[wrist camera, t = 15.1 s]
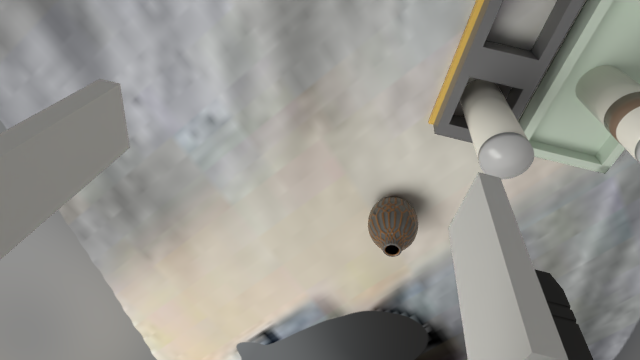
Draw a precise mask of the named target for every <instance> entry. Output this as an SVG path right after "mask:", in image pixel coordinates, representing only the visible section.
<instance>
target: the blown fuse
mask: <svg viewBox="0 0 640 360" xmlns="http://www.w3.org/2000/svg"><path fill="white" fill-rule="evenodd" d="M575 93H576V96H577V98H578V99H579V100H580V101H581V102H582V103H583V105H584V106H585V107H586V108H587V109H588V110H589V111H590V112H591V113H592V114H593V115H594V116H595V117H596V118H597V119H598V120H599V121H600V122H601V123H602V124H603V125H604V127H605V128H606V129H607V131H608V132H609V133H610V134H611V135H612V136H613V137H614V138H615V139H616V140H617V141H618V142H619V143H620V144H621V145H623V146H624V148H625V149H626V150H627V151H628V152H629V153H630V154H631V155H632V156H633V157H634V158H635V159H636V160H637V161H638V162H639V163H640V84H639V83H637V82H636V81H635V80H633V79H632V78H630V77H629V76H628V75H626V74H625V73H623V72H622V71H621V70H619V69H618V68H616V67H614V66H610V65H603V66H598V67H595V68H593V69H591V70H589V71H588V72H586V73H585V74H584V75H583V76H582V77H581V78H580V79H579V81H578V83H577V85H576V89H575Z"/></svg>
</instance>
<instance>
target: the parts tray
mask: <svg viewBox="0 0 640 360" xmlns="http://www.w3.org/2000/svg"><path fill="white" fill-rule="evenodd" d="M603 65H610V66H614V67H616V68H618V69H619V70H621V71H622V72H623V73H625V74H626V75H628V76H629V77H630V78H632V79H633V80H635V81H636V82H637V83H639V84H640V0H587V1H586V3H585V4H584V6H583V8H582V10H581V12H580V13H579V15H578V17H577V19H576V20H575V22H574V24H573V26H572V28H571V29H570V31H569V33H568V35H567V36H566V38H565V40H564V42H563V43H562V45H561V47H560V49H559V51H558V52H557V54H556V56H555V58H554V59H553V61H552V63H551V65H550V67H549V68H548V70H547V72H546V74H545V75H544V77H543V79H542V81H541V83H540V84H539V86H538V88H537V90H536V91H535V93H534V95H533V97H532V99H531V100H530V102H529V104H528V106H527V107H526V109H525V111H524V113H523V115H522V116H521V118H520V120H519V124H520V126H521V128H522V130H523V131H524V133H525V135H526V137H527V138H528V140H529V142H530V144H531V146H532V147H533V150H534V157H538V158H542V159H547V160H551V161H555V162H559V163H563V164H567V165H571V166H575V167H579V168H583V169H588V170H592V171H596V172H600V173H604V174H605V173H606V172H607V171H608V170H609V168H610V167H611V166H612V165H613V163H614V162H615V161H616V160H617V158H618V157H619V156H620V155H621V153H622V152H623V151H624V150H625V148H624V146H623V145H621V144H620V143H619V142H618V141H617V140H616V139H615V138H614V137H613V136H612V135H611V134H610V133H609V132H608V131H607V129H606V128H605V127H604V125H603V124H602V123H601V122H600V121H599V120H598V119H597V118H596V117H595V116H594V115H593V114H592V113H591V112H590V111H589V110H588V109H587V108H586V107H585V106H584V105H583V103H582V102H581V101H580V100H579V99H578V98H577V96H576V93H575V89H576V85H577V83H578V81H579V79H580V78H581V77H582V76H583V75H584V74H585V73H586V72H588V71H589V70H591V69H593V68H595V67H598V66H603Z"/></svg>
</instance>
